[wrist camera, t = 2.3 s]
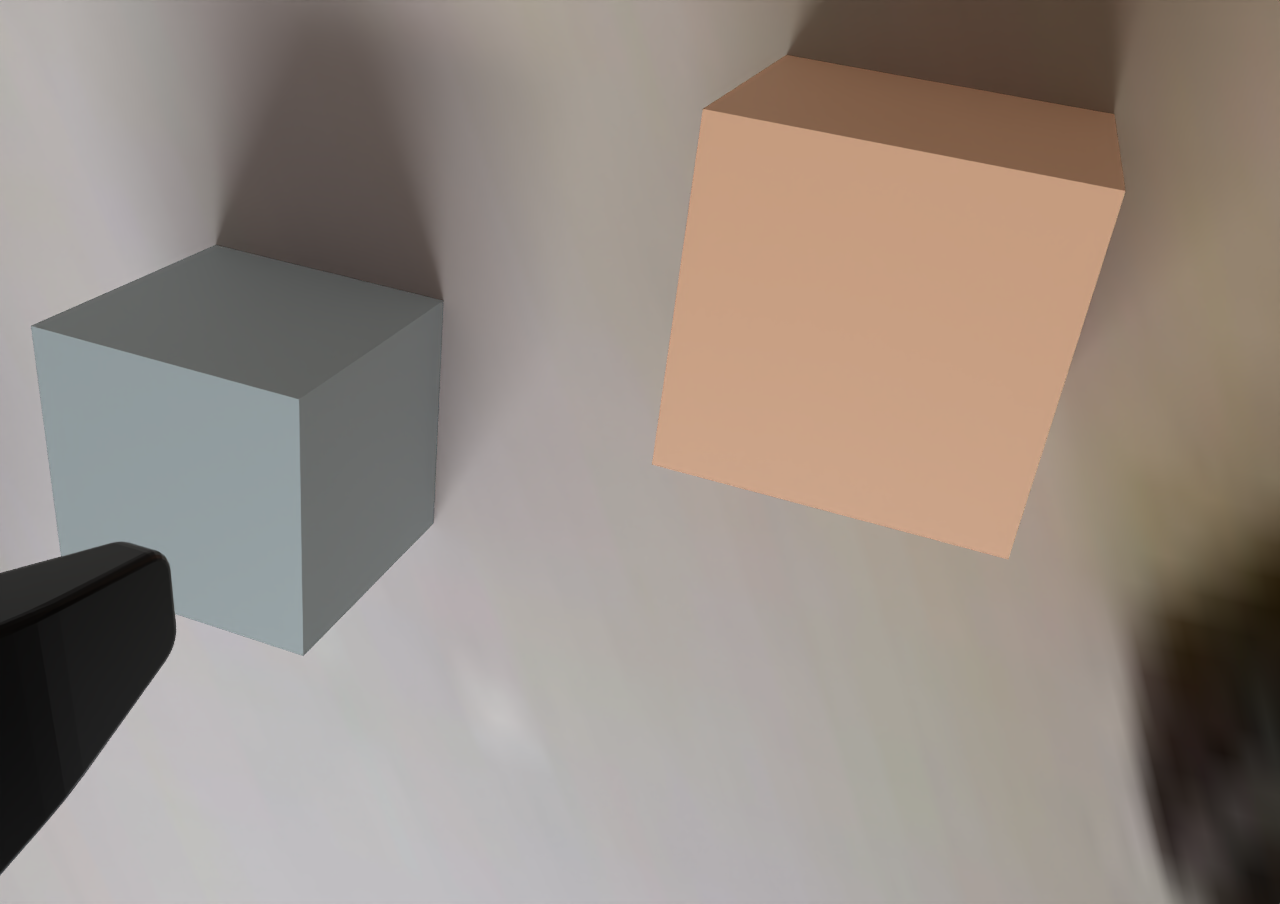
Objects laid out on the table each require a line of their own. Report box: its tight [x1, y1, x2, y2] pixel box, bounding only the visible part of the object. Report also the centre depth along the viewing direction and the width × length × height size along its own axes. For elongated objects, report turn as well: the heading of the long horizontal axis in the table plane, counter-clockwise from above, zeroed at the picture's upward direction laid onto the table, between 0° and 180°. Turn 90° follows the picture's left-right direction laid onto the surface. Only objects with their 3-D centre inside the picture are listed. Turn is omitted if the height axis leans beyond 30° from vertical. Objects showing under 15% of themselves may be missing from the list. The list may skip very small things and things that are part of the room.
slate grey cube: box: [31, 245, 443, 656], centre depth 22 cm, size 5×5×5 cm
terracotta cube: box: [652, 55, 1126, 559], centre depth 17 cm, size 5×5×5 cm
